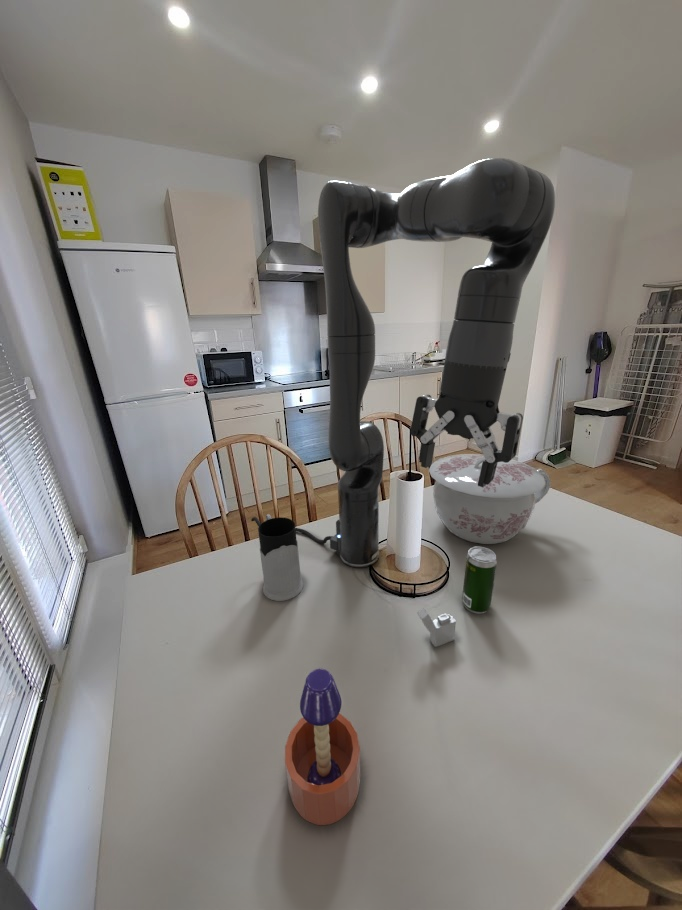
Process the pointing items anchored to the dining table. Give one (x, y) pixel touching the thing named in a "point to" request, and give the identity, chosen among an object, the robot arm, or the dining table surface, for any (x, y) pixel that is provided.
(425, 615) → the lighter
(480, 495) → the chamber pot
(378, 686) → the dining table surface
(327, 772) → the toy lamp
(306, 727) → the orange cylindrical pot
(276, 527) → the glass holder
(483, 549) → the beer can
